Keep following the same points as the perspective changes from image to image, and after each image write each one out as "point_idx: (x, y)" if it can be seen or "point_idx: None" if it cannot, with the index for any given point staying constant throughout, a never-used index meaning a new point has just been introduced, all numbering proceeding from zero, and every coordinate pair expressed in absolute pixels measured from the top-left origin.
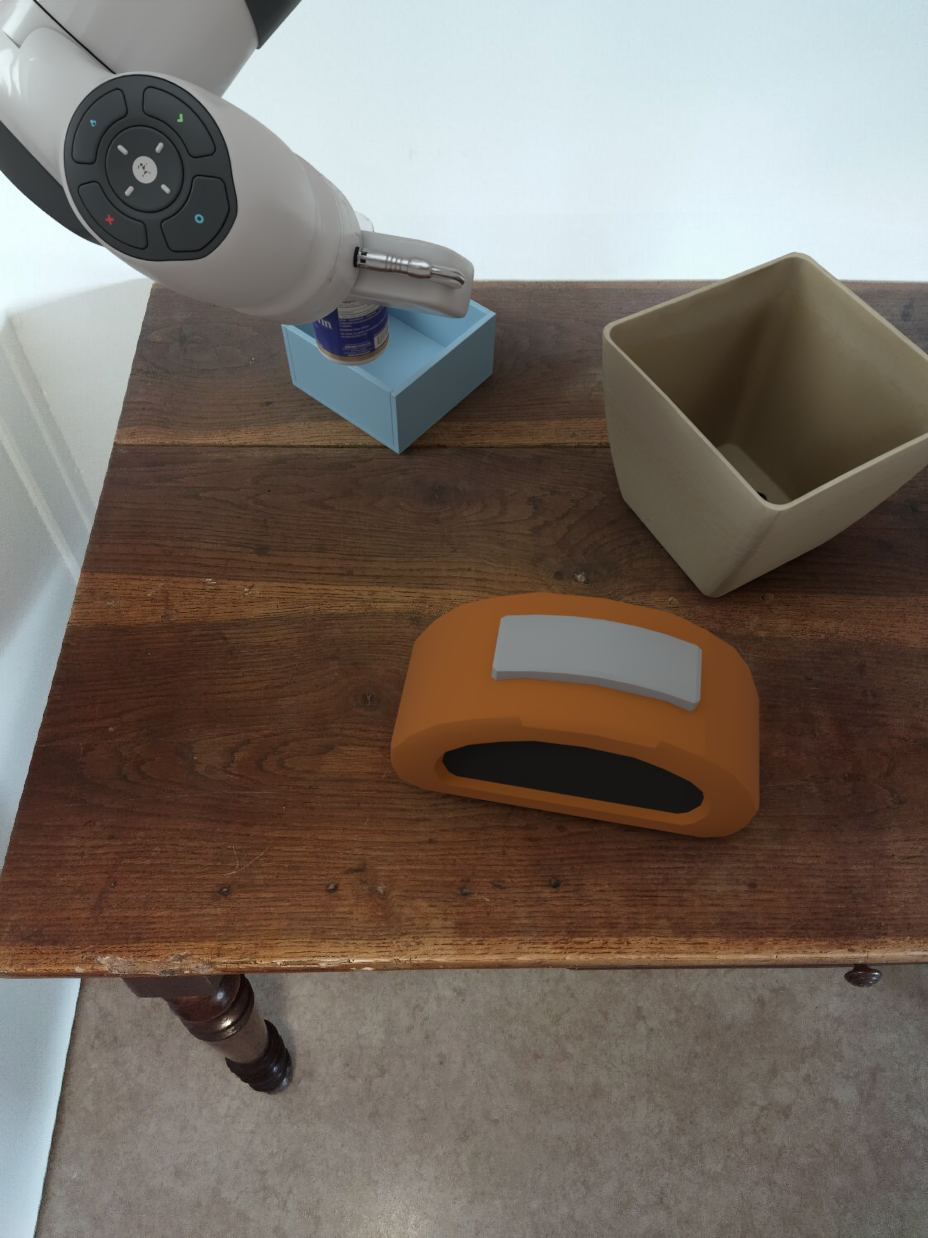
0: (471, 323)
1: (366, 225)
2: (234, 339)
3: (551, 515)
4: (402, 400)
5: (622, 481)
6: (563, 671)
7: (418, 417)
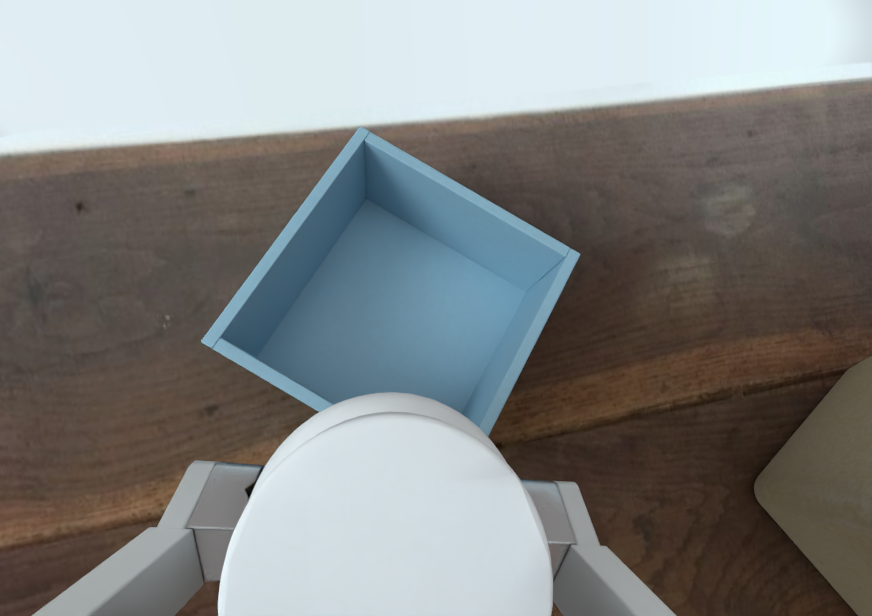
0: (526, 255)
1: (511, 525)
2: (127, 279)
3: (670, 546)
4: None
5: (793, 522)
6: None
7: None
